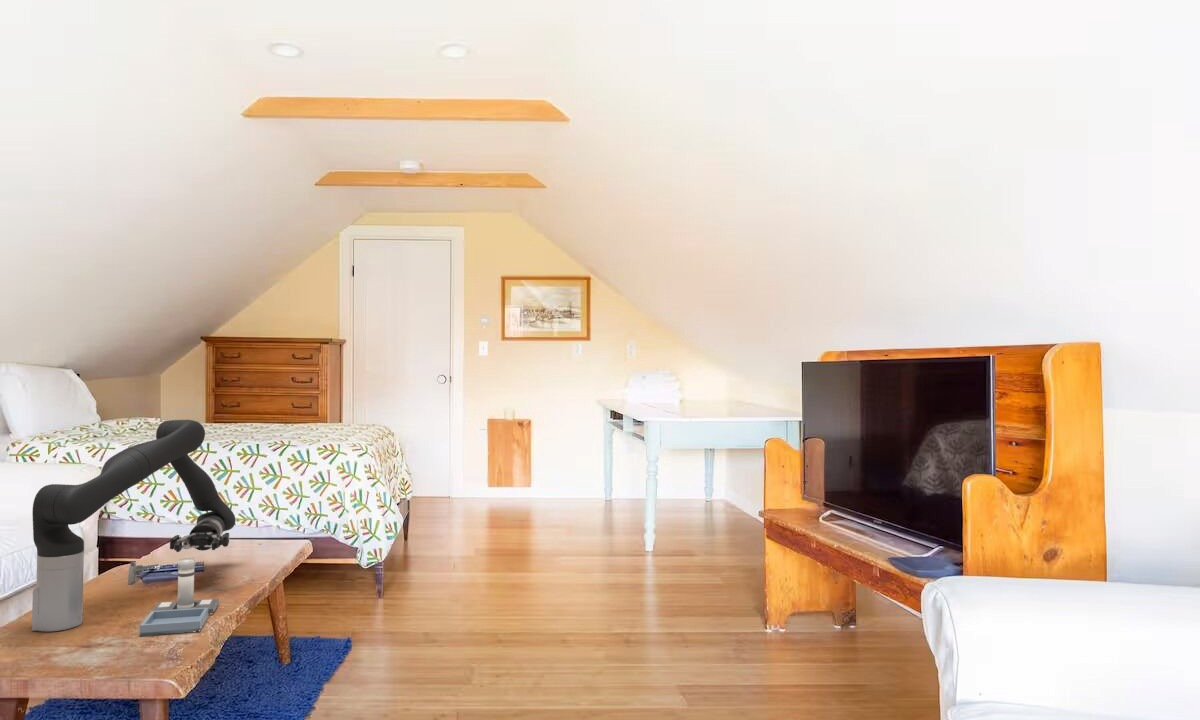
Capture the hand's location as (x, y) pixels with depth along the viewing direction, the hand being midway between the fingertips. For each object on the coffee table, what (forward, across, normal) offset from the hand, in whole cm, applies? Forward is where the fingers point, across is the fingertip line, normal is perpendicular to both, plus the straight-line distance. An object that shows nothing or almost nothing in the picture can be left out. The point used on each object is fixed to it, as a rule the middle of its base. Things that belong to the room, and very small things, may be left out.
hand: (195, 547), depth 212 cm
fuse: (+12, 0, +14) cm, 18 cm away
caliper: (-28, -18, +14) cm, 37 cm away
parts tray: (+24, 0, +13) cm, 27 cm away
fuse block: (+12, 0, +14) cm, 18 cm away
